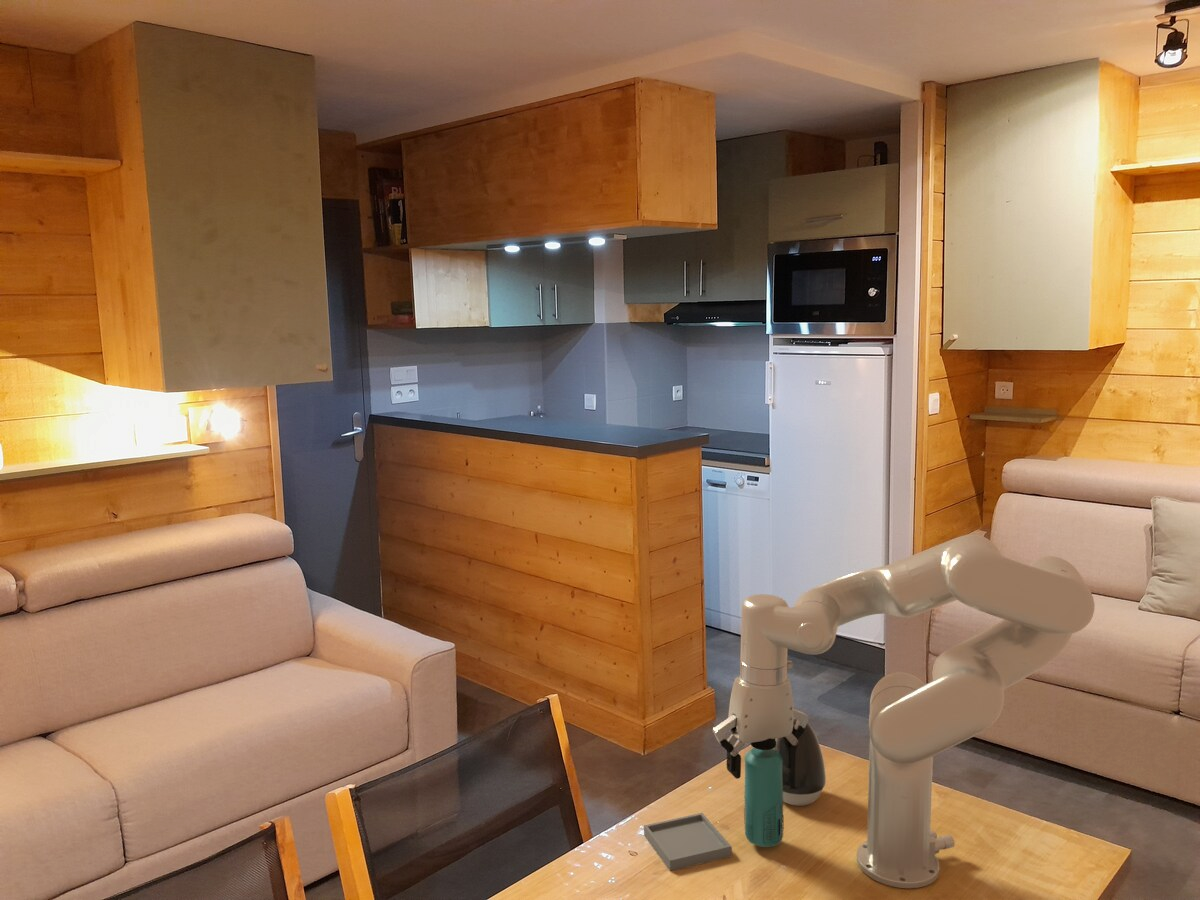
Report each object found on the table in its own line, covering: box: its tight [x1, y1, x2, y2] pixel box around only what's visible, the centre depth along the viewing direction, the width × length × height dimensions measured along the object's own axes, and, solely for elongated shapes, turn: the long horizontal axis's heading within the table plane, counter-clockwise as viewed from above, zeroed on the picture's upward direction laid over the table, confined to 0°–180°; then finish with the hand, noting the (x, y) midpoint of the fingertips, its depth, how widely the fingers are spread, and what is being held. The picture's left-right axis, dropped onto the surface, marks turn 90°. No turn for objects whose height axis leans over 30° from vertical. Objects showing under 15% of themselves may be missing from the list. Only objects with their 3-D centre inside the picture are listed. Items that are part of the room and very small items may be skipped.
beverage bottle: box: [743, 738, 785, 848], centre depth 154 cm, size 6×7×20 cm
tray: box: [643, 812, 732, 872], centre depth 155 cm, size 11×11×2 cm
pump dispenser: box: [773, 718, 827, 807], centre depth 169 cm, size 10×10×15 cm
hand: (760, 769), depth 153 cm, fingers open, 9 cm apart
